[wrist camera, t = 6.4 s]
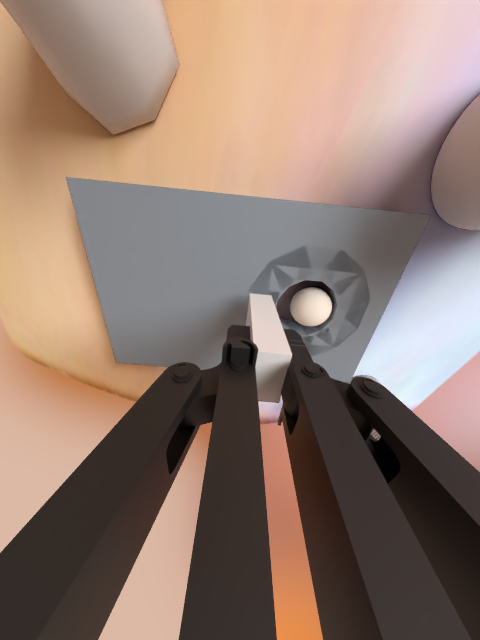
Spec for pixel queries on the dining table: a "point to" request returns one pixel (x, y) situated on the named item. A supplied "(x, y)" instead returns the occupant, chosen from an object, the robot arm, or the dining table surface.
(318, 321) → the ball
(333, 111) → the dining table surface
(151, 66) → the flask
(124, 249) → the plate
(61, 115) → the dining table surface
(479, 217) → the mug
